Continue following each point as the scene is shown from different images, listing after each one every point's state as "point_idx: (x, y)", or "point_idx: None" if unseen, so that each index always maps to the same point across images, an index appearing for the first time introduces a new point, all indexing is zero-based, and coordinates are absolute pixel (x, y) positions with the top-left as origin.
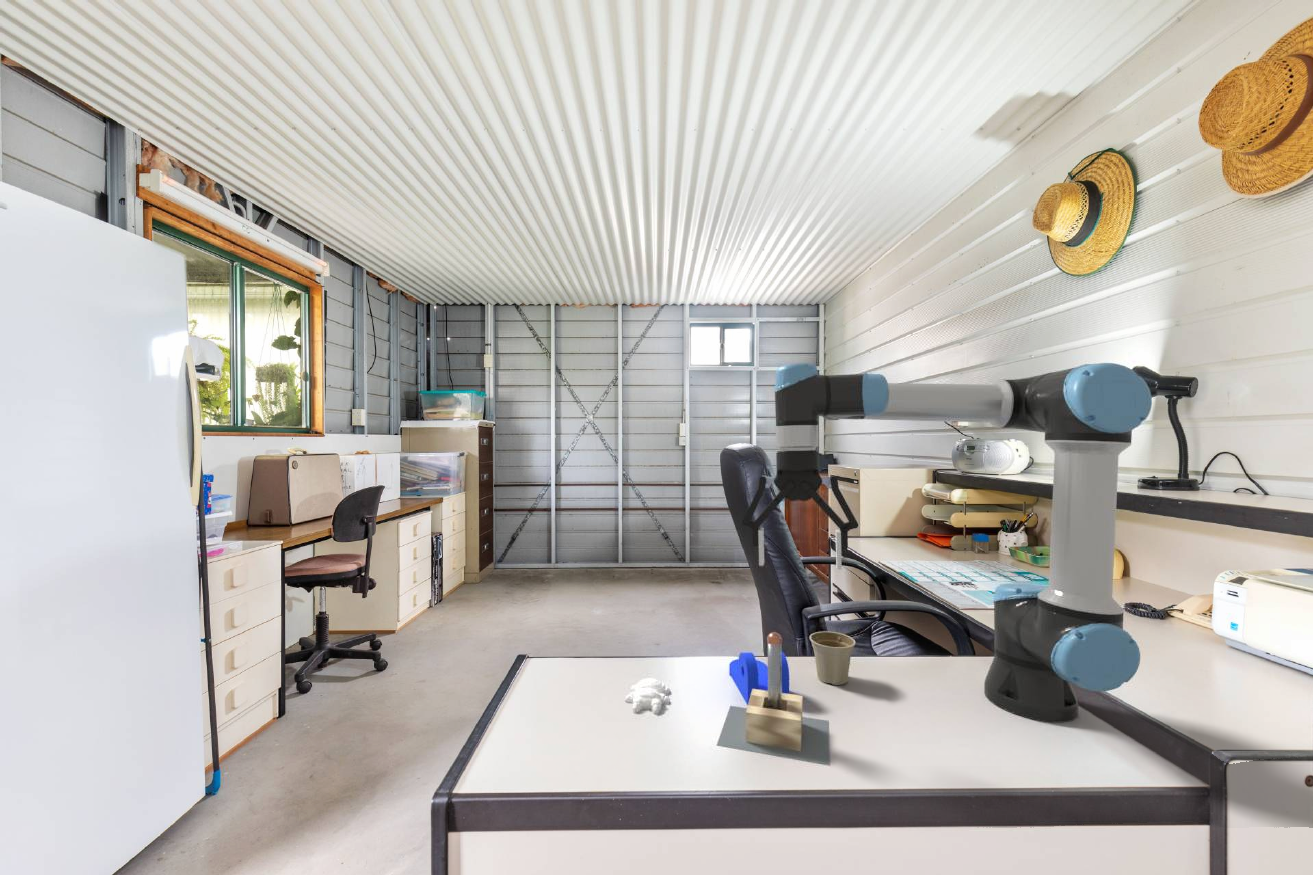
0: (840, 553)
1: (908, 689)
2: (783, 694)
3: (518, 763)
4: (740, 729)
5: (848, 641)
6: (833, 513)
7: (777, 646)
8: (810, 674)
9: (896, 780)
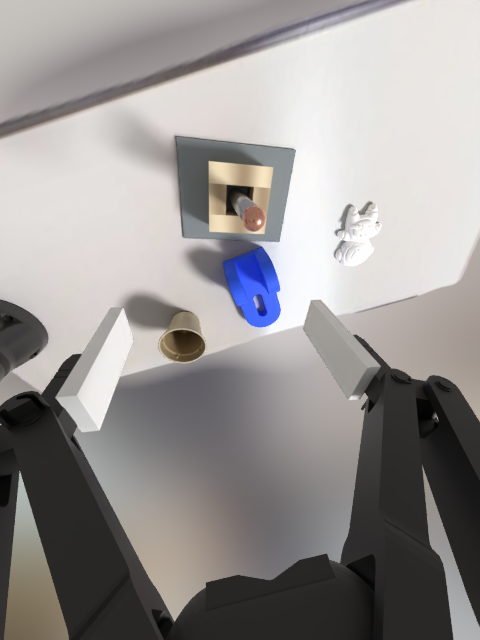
0: (96, 335)
1: None
2: (230, 229)
3: None
4: (270, 193)
5: (167, 353)
6: (40, 499)
7: (248, 206)
8: (205, 324)
9: (103, 125)
